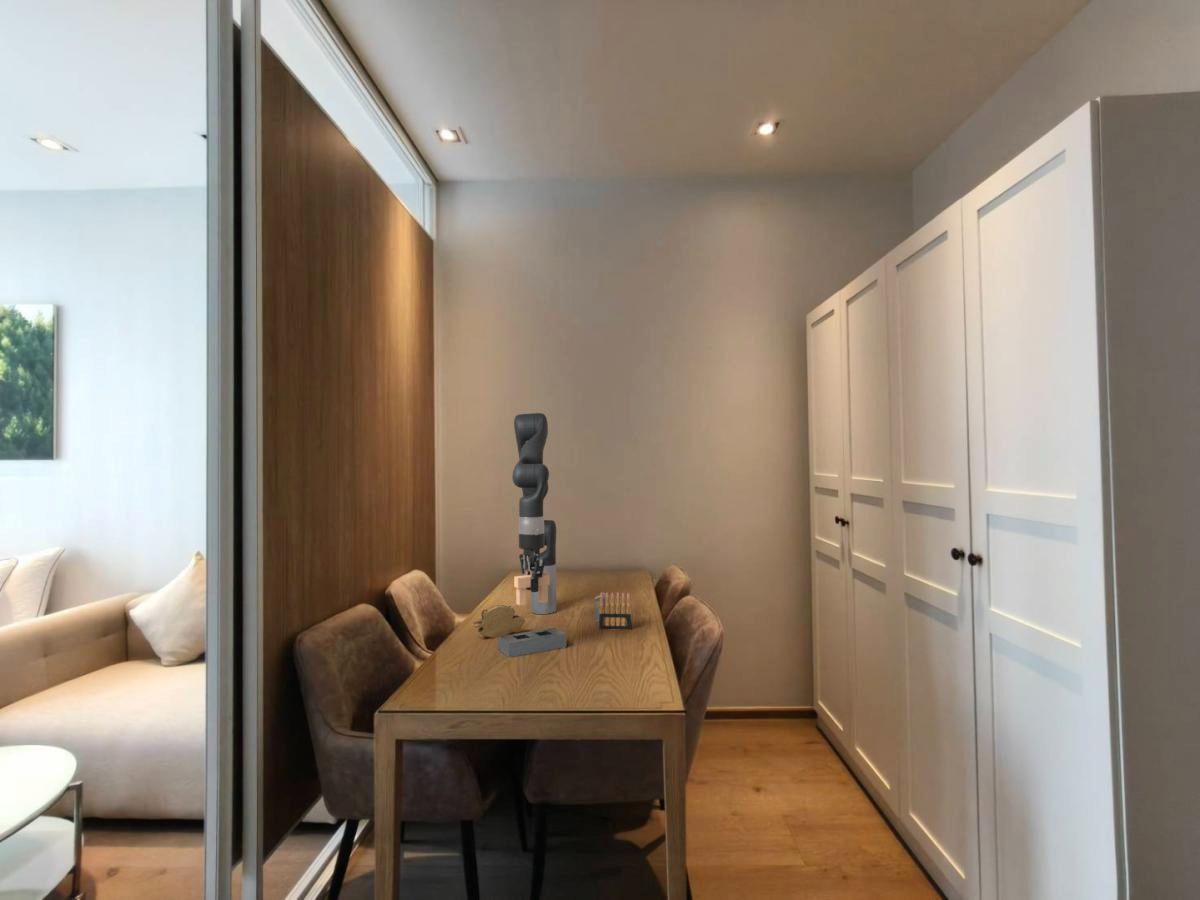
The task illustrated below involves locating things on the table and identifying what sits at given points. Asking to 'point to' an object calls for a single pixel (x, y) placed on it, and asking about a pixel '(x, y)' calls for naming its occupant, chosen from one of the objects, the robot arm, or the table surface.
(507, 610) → the wooden carving
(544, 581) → the prong clip
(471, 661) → the table surface
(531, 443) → the robot arm
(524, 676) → the table surface
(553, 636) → the grey socket block
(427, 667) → the table surface
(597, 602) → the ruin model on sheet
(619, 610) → the ammunition clip
